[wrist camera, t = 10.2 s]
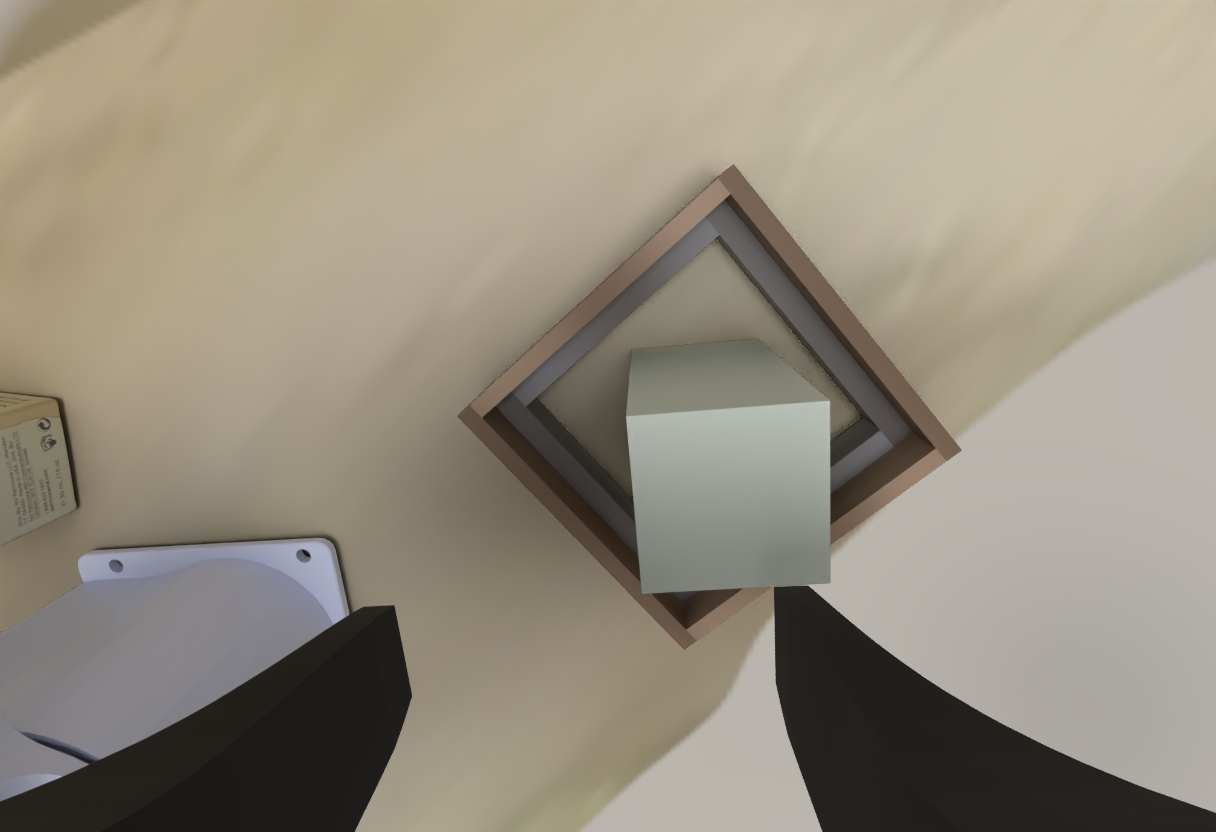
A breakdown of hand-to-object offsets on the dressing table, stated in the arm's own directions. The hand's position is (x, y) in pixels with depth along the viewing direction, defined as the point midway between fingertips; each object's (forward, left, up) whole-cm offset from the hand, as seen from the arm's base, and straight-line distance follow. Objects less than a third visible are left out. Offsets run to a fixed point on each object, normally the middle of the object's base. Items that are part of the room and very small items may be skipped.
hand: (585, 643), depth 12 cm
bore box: (+3, +2, -10) cm, 10 cm away
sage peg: (+3, +2, -10) cm, 10 cm away
